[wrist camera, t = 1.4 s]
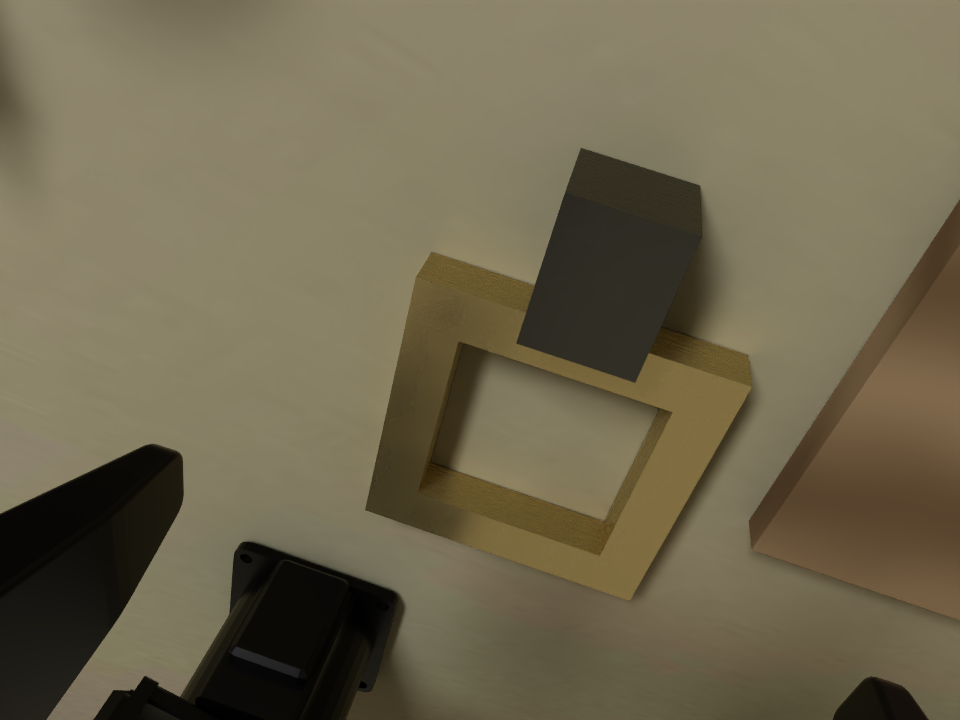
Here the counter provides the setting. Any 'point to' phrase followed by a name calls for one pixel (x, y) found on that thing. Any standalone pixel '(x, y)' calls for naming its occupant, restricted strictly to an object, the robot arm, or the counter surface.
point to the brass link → (574, 354)
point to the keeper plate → (885, 454)
